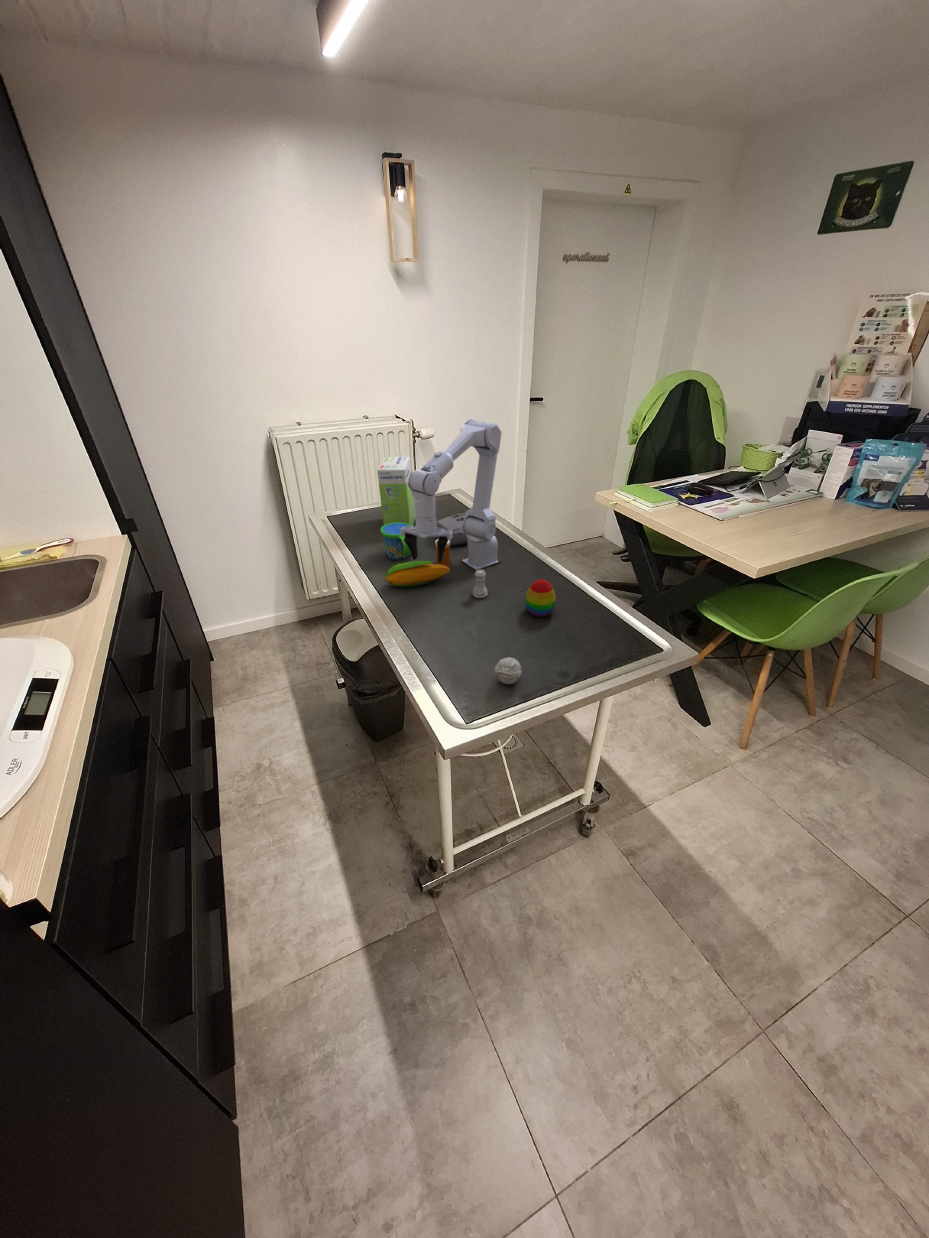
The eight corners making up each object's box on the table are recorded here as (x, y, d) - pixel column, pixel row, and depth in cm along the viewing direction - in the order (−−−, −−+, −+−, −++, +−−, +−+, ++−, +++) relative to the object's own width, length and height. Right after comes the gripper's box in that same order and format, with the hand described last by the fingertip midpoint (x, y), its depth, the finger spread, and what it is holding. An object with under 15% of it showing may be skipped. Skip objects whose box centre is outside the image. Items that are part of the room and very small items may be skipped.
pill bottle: (445, 559, 163) (444, 536, 158) (453, 564, 159) (453, 542, 155) (433, 563, 160) (432, 540, 156) (441, 568, 157) (440, 545, 152)
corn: (381, 559, 146) (446, 551, 150) (384, 581, 150) (446, 571, 155) (385, 572, 140) (452, 562, 145) (388, 594, 145) (452, 584, 149)
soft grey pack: (450, 550, 168) (498, 537, 177) (450, 528, 164) (498, 516, 172) (430, 535, 179) (475, 524, 188) (429, 514, 174) (476, 503, 183)
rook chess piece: (482, 600, 140) (483, 576, 136) (469, 596, 142) (469, 572, 138) (490, 593, 144) (490, 569, 139) (477, 589, 146) (477, 566, 141)
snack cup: (421, 562, 161) (419, 534, 155) (390, 568, 157) (387, 539, 152) (407, 544, 173) (404, 517, 167) (378, 549, 169) (374, 522, 164)
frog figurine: (490, 688, 109) (490, 664, 105) (499, 670, 114) (500, 646, 110) (516, 695, 107) (517, 671, 103) (524, 676, 112) (526, 652, 108)
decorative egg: (558, 618, 132) (561, 586, 127) (529, 621, 131) (531, 589, 126) (548, 602, 139) (552, 572, 134) (521, 605, 138) (523, 574, 132)
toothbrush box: (390, 517, 194) (384, 455, 181) (415, 517, 194) (411, 455, 181) (383, 535, 180) (376, 469, 166) (411, 535, 180) (406, 469, 166)
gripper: (395, 518, 131) (399, 563, 138) (447, 522, 128) (448, 568, 136) (403, 508, 136) (407, 552, 144) (453, 512, 134) (454, 557, 141)
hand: (428, 559), depth 140 cm, fingers open, 7 cm apart
